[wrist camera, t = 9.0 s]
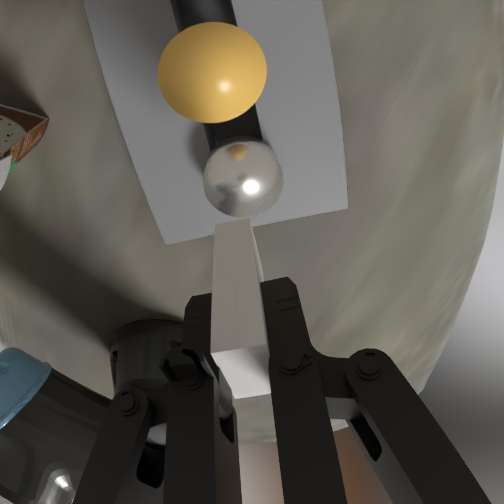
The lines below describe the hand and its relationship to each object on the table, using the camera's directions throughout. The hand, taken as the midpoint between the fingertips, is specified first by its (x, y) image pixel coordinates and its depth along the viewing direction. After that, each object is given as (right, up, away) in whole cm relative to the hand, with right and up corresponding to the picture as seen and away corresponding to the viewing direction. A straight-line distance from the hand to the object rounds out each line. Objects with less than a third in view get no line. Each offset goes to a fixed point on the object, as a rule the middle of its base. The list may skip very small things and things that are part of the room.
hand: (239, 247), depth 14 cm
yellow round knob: (-2, +11, +2) cm, 11 cm away
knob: (0, +7, +9) cm, 11 cm away
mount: (-2, +14, +7) cm, 16 cm away
